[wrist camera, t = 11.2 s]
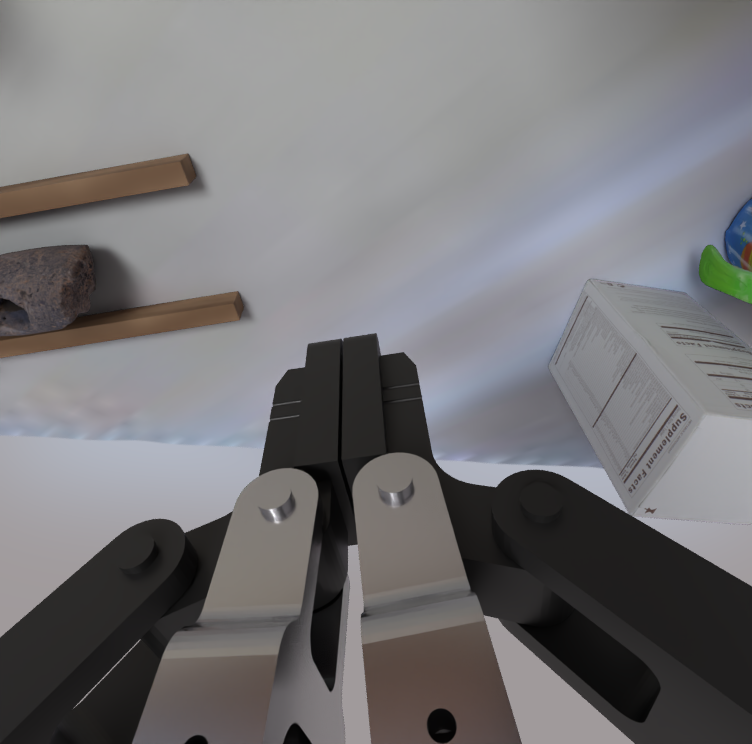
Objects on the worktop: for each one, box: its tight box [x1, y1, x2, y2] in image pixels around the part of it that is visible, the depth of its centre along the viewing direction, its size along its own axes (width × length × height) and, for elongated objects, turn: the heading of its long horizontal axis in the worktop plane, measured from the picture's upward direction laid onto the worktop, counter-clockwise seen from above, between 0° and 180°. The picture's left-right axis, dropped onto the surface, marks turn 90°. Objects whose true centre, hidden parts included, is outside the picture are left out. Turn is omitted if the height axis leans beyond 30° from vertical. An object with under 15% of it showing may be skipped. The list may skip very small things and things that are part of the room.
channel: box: [0, 154, 244, 358], centre depth 36 cm, size 12×25×4 cm, turn 99°
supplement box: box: [548, 279, 752, 525], centre depth 37 cm, size 10×9×17 cm
